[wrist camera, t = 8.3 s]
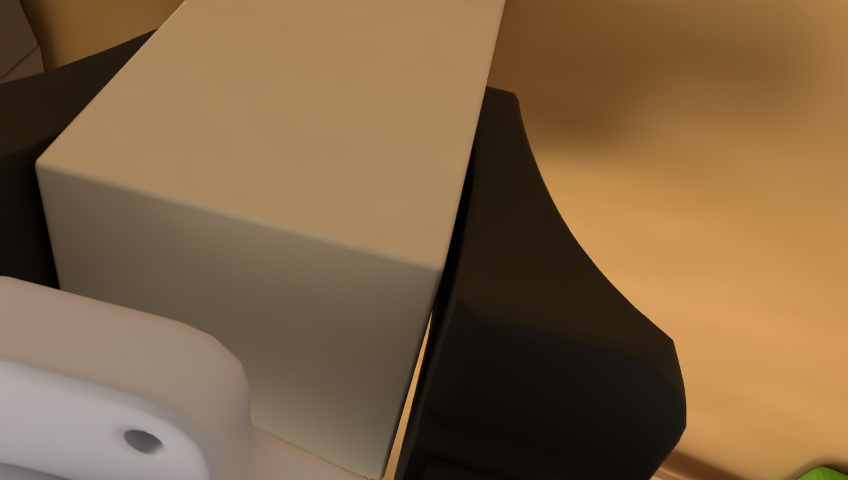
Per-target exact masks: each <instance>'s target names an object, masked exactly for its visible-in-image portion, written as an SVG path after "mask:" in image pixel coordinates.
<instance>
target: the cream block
mask: <svg viewBox="0 0 848 480" xmlns="http://www.w3.org/2000/svg"><path fill="white" fill-rule="evenodd" d="M505 1H506V0H185V1H184V2H183V3H182V4H181V5H180V6H179V7H178V8H177V9H176V11H175V12H174V13H173V14H172V15H171V16H170V17H169V18H168V19H167V20H166V21H165V22H164V23H163V25H162V26H161V27H160V28H159V29H158V30H157V31H156V32H155V33H154V34H153V35H152V36H151V37H150V39H149V40H148V41H147V42H146V43H145V44H144V45H143V46H142V47H141V48H140V49H139V50H138V51H137V52H136V54H135V55H134V56H133V57H132V58H131V59H130V60H129V61H128V62H127V63H126V64H125V65H124V66H123V68H122V69H121V70H120V71H119V72H118V73H117V74H116V75H115V76H114V77H113V78H112V79H111V80H110V82H109V83H108V84H107V85H106V86H105V87H104V88H103V89H102V90H101V91H100V92H99V93H98V94H97V95H96V97H95V98H94V99H93V100H92V101H91V102H90V103H89V104H88V105H87V106H86V107H85V108H84V109H83V111H82V112H81V113H80V114H79V115H78V116H77V117H76V118H75V119H74V120H73V121H72V122H71V123H70V125H69V126H68V127H67V128H66V129H65V130H64V131H63V132H62V133H61V134H60V135H59V136H58V137H57V138H56V140H55V141H54V142H53V143H52V144H51V145H50V146H49V147H48V148H47V149H46V150H45V151H44V152H43V154H42V155H41V156H40V157H39V158H38V159H37V161H36V163H35V170H36V174H37V179H38V184H39V189H40V194H41V199H42V204H43V209H44V214H45V218H46V223H47V228H48V233H49V238H50V243H51V248H52V253H53V257H54V262H55V267H56V272H57V277H58V282H59V287H60V290H61V291H65V292H69V293H73V294H77V295H80V296H84V297H88V298H92V299H96V300H100V301H103V302H107V303H111V304H115V305H119V306H123V307H126V308H130V309H134V310H138V311H142V312H146V313H149V314H153V315H157V316H161V317H165V318H169V319H172V320H176V321H179V322H182V323H184V324H186V325H188V326H191V327H193V328H195V329H198V330H200V331H202V332H205V333H207V334H209V335H211V336H213V337H215V338H216V339H217V340H218V341H219V342H220V343H221V344H222V345H223V346H225V347H226V348H227V349H228V350H229V351H230V352H231V353H232V354H233V355H234V356H236V357H237V358H238V359H239V361H240V362H241V363H242V365H243V368H244V371H245V374H246V377H247V379H248V382H249V385H250V388H251V403H250V418H251V424H252V425H254V426H256V427H258V428H260V429H262V430H264V431H266V432H268V433H270V434H273V435H275V436H277V437H279V438H281V439H283V440H285V441H287V442H289V443H292V444H294V445H296V446H298V447H300V448H302V449H304V450H306V451H308V452H310V453H313V454H315V455H317V456H319V457H321V458H323V459H325V460H327V461H329V462H332V463H334V464H336V465H338V466H340V467H342V468H344V469H346V470H348V471H351V472H353V473H355V474H358V475H361V476H365V477H369V478H373V479H377V480H381V479H382V478H383V477H384V475H385V471H386V468H387V464H388V461H389V457H390V454H391V450H392V447H393V444H394V440H395V437H396V433H397V430H398V426H399V423H400V419H401V416H402V412H403V409H404V406H405V402H406V399H407V395H408V392H409V388H410V385H411V381H412V378H413V375H414V371H415V368H416V364H417V361H418V357H419V354H420V350H421V347H422V344H423V340H424V337H425V333H426V330H427V326H428V323H429V319H430V316H431V312H432V309H433V306H434V302H435V299H436V295H437V292H438V288H439V285H440V281H441V278H442V275H443V271H444V267H445V263H446V258H447V254H448V250H449V245H450V241H451V237H452V232H453V228H454V224H455V219H456V215H457V210H458V206H459V202H460V197H461V193H462V189H463V184H464V180H465V175H466V171H467V167H468V162H469V158H470V154H471V149H472V145H473V141H474V136H475V132H476V127H477V123H478V119H479V114H480V110H481V106H482V101H483V97H484V93H485V88H486V84H487V79H488V75H489V71H490V66H491V62H492V58H493V53H494V49H495V45H496V40H497V36H498V31H499V27H500V23H501V18H502V14H503V10H504V5H505Z"/></svg>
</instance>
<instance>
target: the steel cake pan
mask: <svg viewBox="0 0 848 480" xmlns="http://www.w3.org/2000/svg"><path fill="white" fill-rule="evenodd" d="M37 45H38V43H37V40H36V38H35V36H34V33H33V31H32V29H31V26H30V24H29V22H28V20H27V17H26V15H25V13H24V10H23V8H22V6H21V3H20V1H19V0H0V83H4V82H8V81H12V80H16V79H20V78H24V77H28V76H31V75H35V74H39V73H42V72H44V67H43V61H42V56H41V50H40V47H39V46H37Z"/></svg>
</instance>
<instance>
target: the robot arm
mask: <svg viewBox="0 0 848 480" xmlns="http://www.w3.org/2000/svg"><path fill="white" fill-rule="evenodd" d="M158 29H159V28H157V29H155V30H153V31H150V32H148V33H146V34H143V35H141V36H139V37H136V38H134V39H132V40H129V41H127V42H125V43H122V44H120V45H118V46H115V47H113V48H110V49H108V50H105V51H102V52H99V53H97V54H94V55H91V56H89V57H86V58H83V59H81V60H78V61H75V62H72V63H70V64H67V65H64V66H61V67H58V68H55V69H52V70H49V71H45V72H42V73H39V74H35V75H31V76H28V77H24V78H20V79H16V80H12V81H8V82H4V83H0V480H367V479H365V478H363V477H361V476H359V475H357V474H355V473H353V472H351V471H348V470H346V469H344V468H342V467H340V466H338V465H336V464H334V463H332V462H329V461H327V460H325V459H323V458H321V457H319V456H317V455H315V454H313V453H310V452H308V451H306V450H304V449H302V448H300V447H298V446H296V445H294V444H292V443H289V442H287V441H285V440H283V439H281V438H279V437H277V436H275V435H273V434H270V433H268V432H266V431H264V430H262V429H260V428H258V427H256V426H254V425H252V424H251V418H250V403H251V388H250V385H249V382H248V379H247V377H246V374H245V371H244V368H243V365H242V363H241V362H240V361H239V359H238V358H237V357H236V356H234V355H233V354H232V353H231V352H230V351H229V350H228V349H227V348H226V347H225V346H223V345H222V344H221V343H220V342H219V341H218V340H217V339H216V338H215V337H213V336H211V335H209V334H207V333H205V332H202V331H200V330H198V329H195V328H193V327H191V326H188V325H186V324H184V323H182V322H179V321H176V320H172V319H169V318H165V317H161V316H157V315H153V314H149V313H146V312H142V311H138V310H134V309H130V308H126V307H123V306H119V305H115V304H111V303H107V302H103V301H100V300H96V299H92V298H88V297H84V296H80V295H77V294H73V293H69V292H65V291H61V290H60V287H59V282H58V277H57V272H56V267H55V262H54V257H53V253H52V248H51V243H50V238H49V233H48V228H47V223H46V218H45V214H44V209H43V204H42V199H41V194H40V189H39V184H38V179H37V174H36V170H35V163H36V161H37V159H38V158H39V157H40V156H41V155H42V154H43V152H44V151H45V150H46V149H47V148H48V147H49V146H50V145H51V144H52V143H53V142H54V141H55V140H56V138H57V137H58V136H59V135H60V134H61V133H62V132H63V131H64V130H65V129H66V128H67V127H68V126H69V125H70V123H71V122H72V121H73V120H74V119H75V118H76V117H77V116H78V115H79V114H80V113H81V112H82V111H83V109H84V108H85V107H86V106H87V105H88V104H89V103H90V102H91V101H92V100H93V99H94V98H95V97H96V95H97V94H98V93H99V92H100V91H101V90H102V89H103V88H104V87H105V86H106V85H107V84H108V83H109V82H110V80H111V79H112V78H113V77H114V76H115V75H116V74H117V73H118V72H119V71H120V70H121V69H122V68H123V66H124V65H125V64H126V63H127V62H128V61H129V60H130V59H131V58H132V57H133V56H134V55H135V54H136V52H137V51H138V50H139V49H140V48H141V47H142V46H143V45H144V44H145V43H146V42H147V41H148V40H149V39H150V37H151V36H152V35H153V34H154V33H155V32H156V31H157V30H158ZM685 428H686V397H685V388H684V383H683V378H682V374H681V369H680V365H679V361H678V357H677V353H676V350H675V346H674V342H673V340H672V339H671V338H670V337H669V336H668V335H666V334H665V333H664V332H663V331H662V330H661V329H659V328H658V327H657V326H656V325H655V324H654V323H653V322H651V321H650V320H649V319H648V318H647V317H646V316H644V315H643V314H642V313H641V312H640V311H639V310H637V309H636V308H635V307H634V306H633V305H632V304H631V303H630V302H629V301H628V300H627V299H626V298H625V297H624V296H623V295H622V294H621V293H620V292H619V291H618V290H617V289H616V288H615V287H614V286H613V285H612V284H611V282H610V281H609V280H608V279H607V278H606V277H605V276H604V275H603V273H602V272H601V271H600V270H599V269H598V268H597V266H596V265H595V264H594V263H593V261H592V260H591V259H590V257H589V256H588V255H587V254H586V252H585V251H584V250H583V249H582V247H581V246H580V245H579V243H578V242H577V240H576V239H575V238H574V236H573V235H572V233H571V232H570V230H569V228H568V227H567V225H566V223H565V222H564V220H563V218H562V217H561V215H560V213H559V211H558V209H557V208H556V206H555V204H554V202H553V200H552V198H551V196H550V194H549V192H548V189H547V187H546V185H545V183H544V181H543V178H542V176H541V174H540V171H539V169H538V166H537V164H536V161H535V158H534V156H533V153H532V150H531V148H530V145H529V142H528V139H527V135H526V132H525V128H524V125H523V121H522V117H521V113H520V107H519V101H518V99H517V97H516V95H515V94H514V93H511V92H507V91H503V90H499V89H496V88H492V87H488V86H486V88H485V93H484V97H483V101H482V106H481V110H480V114H479V119H478V123H477V127H476V132H475V136H474V141H473V145H472V149H471V154H470V158H469V162H468V167H467V171H466V175H465V180H464V184H463V189H462V193H461V197H460V202H459V206H458V210H457V215H456V219H455V224H454V228H453V232H452V237H451V241H450V245H449V250H448V254H447V258H446V263H445V267H444V271H443V275H442V278H441V281H440V285H439V288H438V292H437V295H436V299H435V302H434V306H433V309H432V317H431V323H430V329H429V334H428V340H427V344H426V348H425V352H424V356H423V361H422V365H421V369H420V373H419V377H418V382H417V386H416V390H415V394H414V398H413V402H412V406H411V411H410V415H409V419H408V423H407V427H406V431H405V435H404V440H403V444H402V448H401V452H400V456H399V460H398V464H397V468H396V472H395V476H394V480H650V479H651V478H652V476H653V475H654V474H655V473H656V471H657V470H658V469H659V467H660V466H661V465H662V463H663V462H664V461H665V459H666V458H667V457H668V455H669V454H670V453H671V451H672V450H673V449H674V447H675V446H676V445H677V443H678V442H679V440H680V438H681V436H682V434H683V432H684V430H685Z"/></svg>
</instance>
